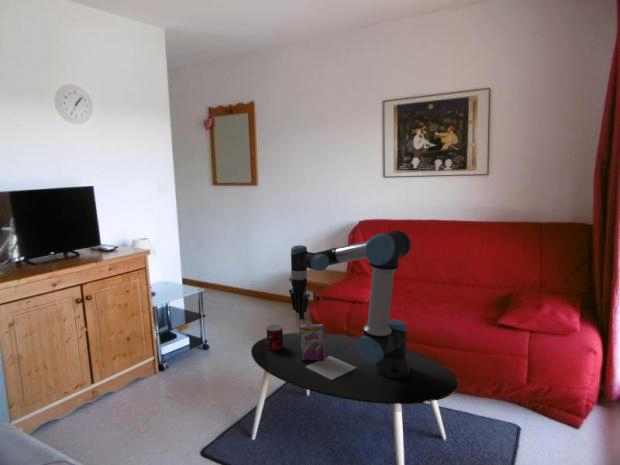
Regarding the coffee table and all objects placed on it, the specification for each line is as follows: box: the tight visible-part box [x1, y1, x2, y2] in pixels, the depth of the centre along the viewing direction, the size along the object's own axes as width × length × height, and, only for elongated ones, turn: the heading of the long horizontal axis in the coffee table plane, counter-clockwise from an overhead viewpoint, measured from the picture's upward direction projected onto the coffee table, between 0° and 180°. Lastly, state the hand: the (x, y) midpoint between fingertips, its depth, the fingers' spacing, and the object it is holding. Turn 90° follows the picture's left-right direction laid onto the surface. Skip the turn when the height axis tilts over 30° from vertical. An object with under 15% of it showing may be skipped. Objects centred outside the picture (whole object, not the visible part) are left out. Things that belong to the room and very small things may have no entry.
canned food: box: [266, 324, 284, 352], centre depth 221 cm, size 8×8×11 cm
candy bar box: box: [299, 323, 326, 361], centre depth 207 cm, size 11×5×16 cm, turn 84°
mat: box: [304, 355, 357, 381], centre depth 199 cm, size 17×16×1 cm
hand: (299, 324), depth 213 cm, fingers closed
